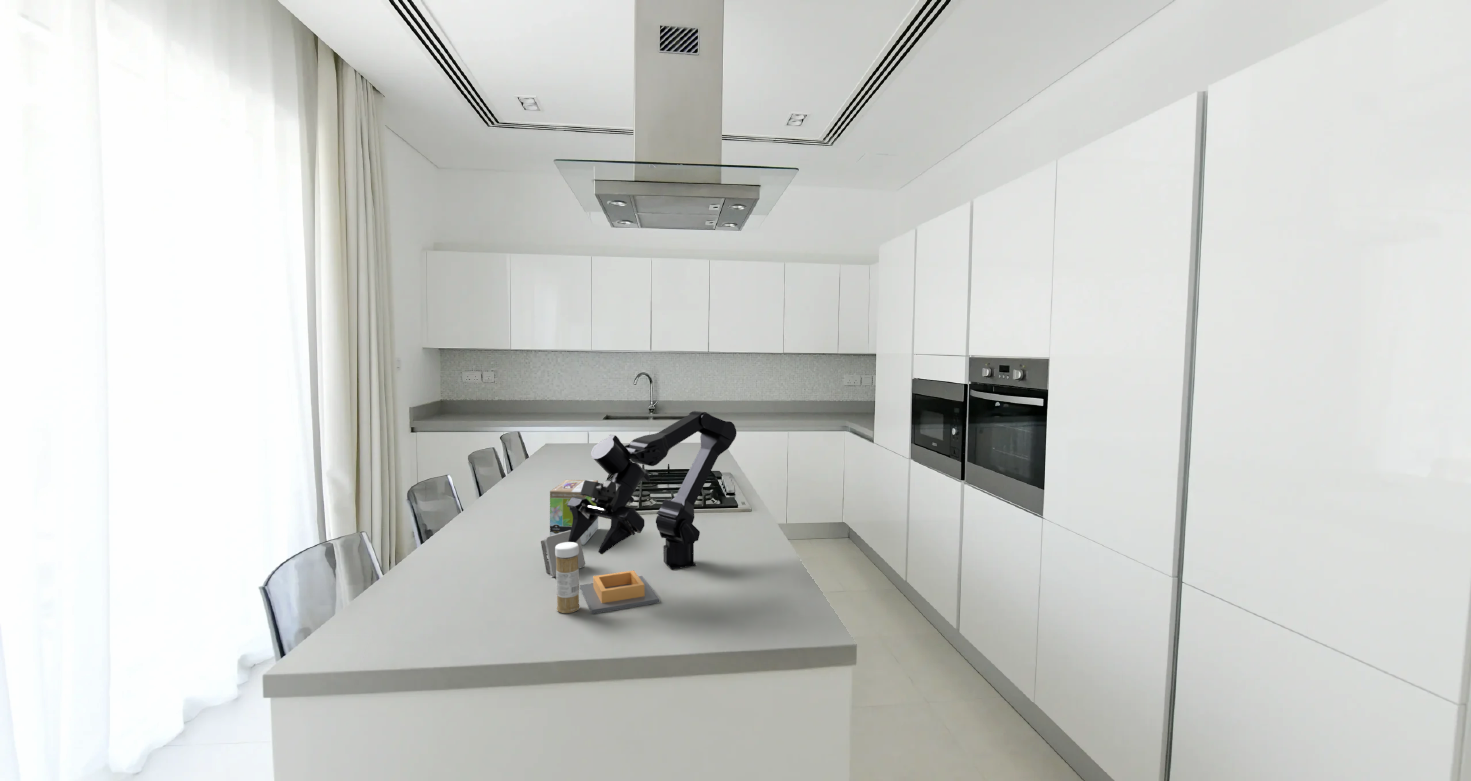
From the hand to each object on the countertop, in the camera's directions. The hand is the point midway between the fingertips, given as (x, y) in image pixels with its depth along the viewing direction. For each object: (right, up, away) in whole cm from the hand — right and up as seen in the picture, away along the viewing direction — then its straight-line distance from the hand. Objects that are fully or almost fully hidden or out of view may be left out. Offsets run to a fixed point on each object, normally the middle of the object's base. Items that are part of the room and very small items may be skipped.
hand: (584, 548), depth 130 cm
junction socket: (+6, -11, +4) cm, 13 cm away
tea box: (-13, -8, +45) cm, 47 cm away
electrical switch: (-10, -10, +19) cm, 24 cm away
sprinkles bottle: (-3, -12, -3) cm, 12 cm away
